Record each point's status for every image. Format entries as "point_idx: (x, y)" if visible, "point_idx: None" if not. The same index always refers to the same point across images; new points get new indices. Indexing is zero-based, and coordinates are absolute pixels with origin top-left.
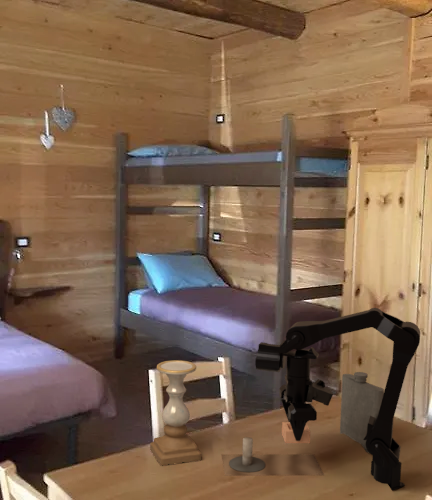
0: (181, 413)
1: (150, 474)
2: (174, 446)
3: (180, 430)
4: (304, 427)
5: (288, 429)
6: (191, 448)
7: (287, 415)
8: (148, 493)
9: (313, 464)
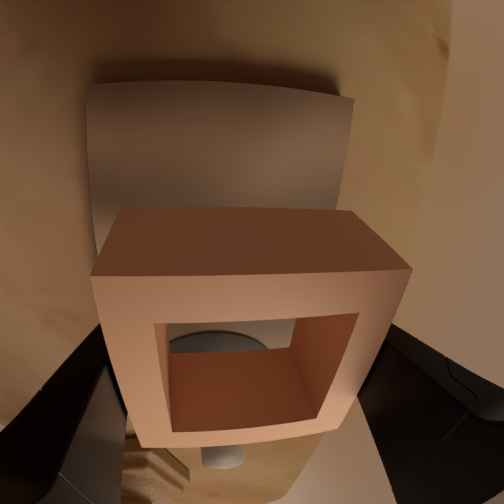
0: None
1: (227, 474)
2: (166, 491)
3: None
4: (463, 368)
5: (309, 422)
6: (155, 472)
7: (117, 478)
8: (299, 464)
9: (225, 114)
